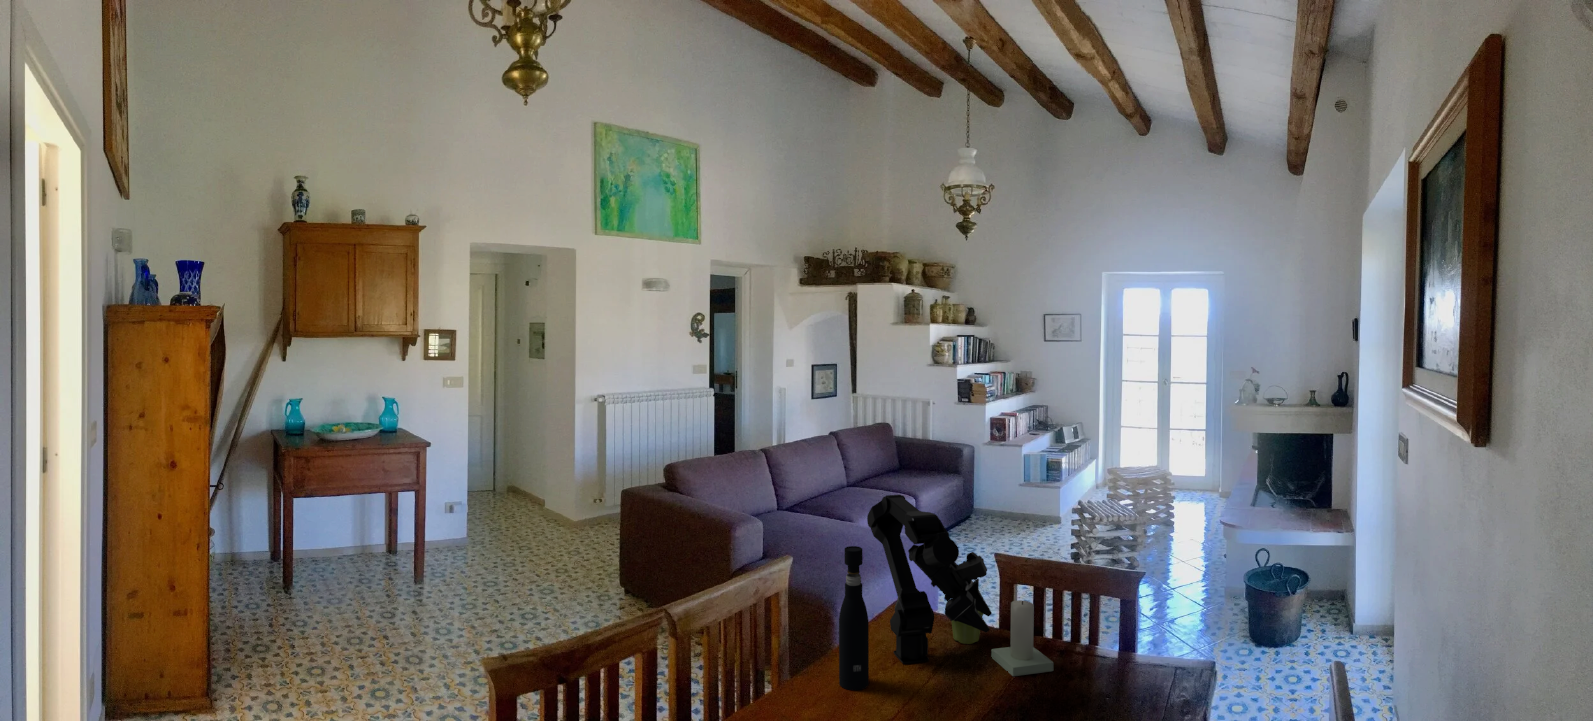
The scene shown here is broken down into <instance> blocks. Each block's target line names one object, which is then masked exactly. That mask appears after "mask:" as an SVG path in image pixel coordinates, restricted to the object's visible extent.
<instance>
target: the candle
mask: <svg viewBox="0 0 1593 721" xmlns="http://www.w3.org/2000/svg"><path fill="white" fill-rule="evenodd" d="M1034 607H1035V605H1034V603H1032V602H1030V601H1027V600H1018V599H1017V600H1012V601H1011V602H1010V647H1011V649H1010V655H1011V657H1013V658H1015V659H1017V660H1031V659H1032V658H1033V647H1034V629H1035V628H1034V624H1035V622H1034V620H1035V619H1034V618H1035V616H1034V615H1035V611H1034V610H1035V609H1034Z"/></svg>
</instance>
